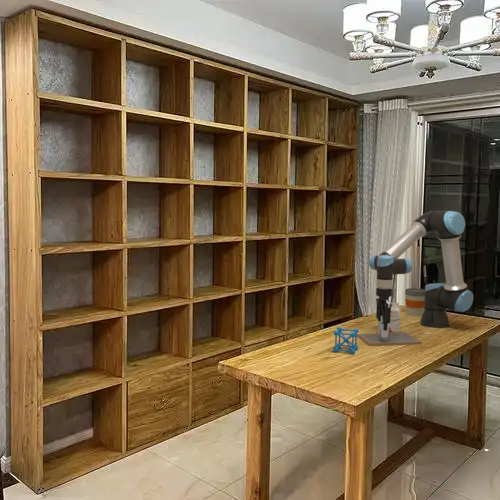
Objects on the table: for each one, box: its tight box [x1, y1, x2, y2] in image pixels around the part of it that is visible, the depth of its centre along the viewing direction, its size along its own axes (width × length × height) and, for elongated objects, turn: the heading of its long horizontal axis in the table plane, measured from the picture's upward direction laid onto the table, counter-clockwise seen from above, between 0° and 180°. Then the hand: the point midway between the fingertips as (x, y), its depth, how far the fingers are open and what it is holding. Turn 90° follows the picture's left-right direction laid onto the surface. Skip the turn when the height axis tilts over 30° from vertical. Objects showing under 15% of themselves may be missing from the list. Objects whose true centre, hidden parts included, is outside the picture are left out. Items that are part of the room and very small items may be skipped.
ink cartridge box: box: [389, 302, 401, 333], centre depth 280 cm, size 9×5×15 cm, turn 84°
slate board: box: [357, 331, 423, 347], centre depth 262 cm, size 26×18×1 cm
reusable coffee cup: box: [404, 287, 425, 317], centre depth 320 cm, size 13×13×15 cm
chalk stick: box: [380, 315, 390, 342], centre depth 256 cm, size 4×4×12 cm
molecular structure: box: [332, 326, 360, 355], centre depth 242 cm, size 10×10×10 cm
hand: (382, 335), depth 256 cm, fingers closed on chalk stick, 4 cm apart
